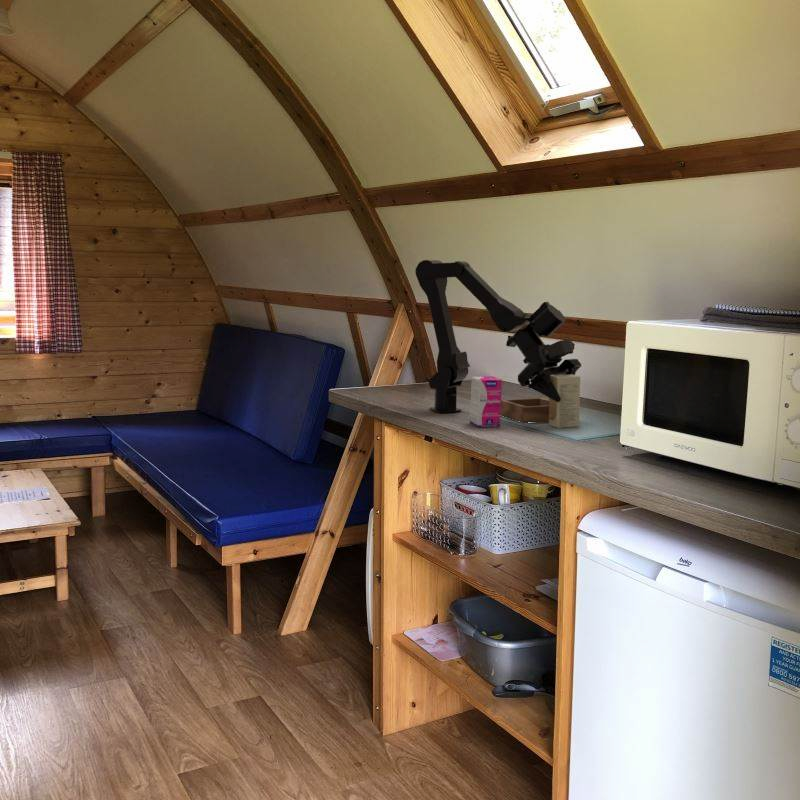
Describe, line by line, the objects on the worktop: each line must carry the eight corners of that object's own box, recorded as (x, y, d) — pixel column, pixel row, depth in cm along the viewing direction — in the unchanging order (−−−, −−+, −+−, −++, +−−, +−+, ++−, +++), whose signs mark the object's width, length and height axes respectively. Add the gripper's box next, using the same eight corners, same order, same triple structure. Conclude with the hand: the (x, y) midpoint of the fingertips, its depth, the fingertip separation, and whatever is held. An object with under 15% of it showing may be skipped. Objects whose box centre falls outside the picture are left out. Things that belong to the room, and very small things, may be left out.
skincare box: (570, 423, 215) (572, 373, 213) (579, 427, 211) (582, 376, 209) (546, 425, 213) (548, 374, 211) (555, 428, 209) (557, 377, 207)
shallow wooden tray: (498, 415, 226) (499, 400, 225) (540, 412, 231) (540, 397, 230) (524, 423, 214) (525, 407, 214) (567, 420, 219) (568, 404, 219)
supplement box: (477, 427, 209) (479, 379, 207) (469, 423, 214) (470, 376, 213) (500, 426, 210) (502, 379, 208) (491, 422, 216) (493, 375, 214)
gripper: (529, 329, 205) (566, 381, 199) (576, 325, 218) (613, 375, 211) (501, 360, 212) (537, 411, 205) (549, 355, 224) (583, 403, 218)
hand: (569, 399), depth 210 cm, fingers closed on skincare box, 7 cm apart
